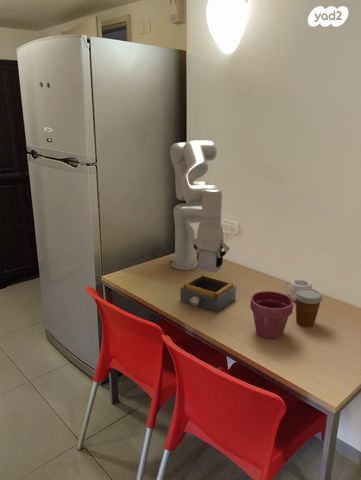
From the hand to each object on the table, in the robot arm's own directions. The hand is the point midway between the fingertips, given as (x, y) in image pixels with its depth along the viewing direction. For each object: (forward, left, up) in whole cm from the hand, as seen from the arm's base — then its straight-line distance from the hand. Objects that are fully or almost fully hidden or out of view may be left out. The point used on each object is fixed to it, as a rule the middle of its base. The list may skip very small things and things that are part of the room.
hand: (209, 263), depth 155 cm
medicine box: (0, 0, -3) cm, 3 cm away
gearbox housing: (0, -2, -16) cm, 16 cm away
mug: (+28, +24, -16) cm, 40 cm away
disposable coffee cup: (+38, +6, -16) cm, 42 cm away
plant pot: (+30, -8, -16) cm, 35 cm away
